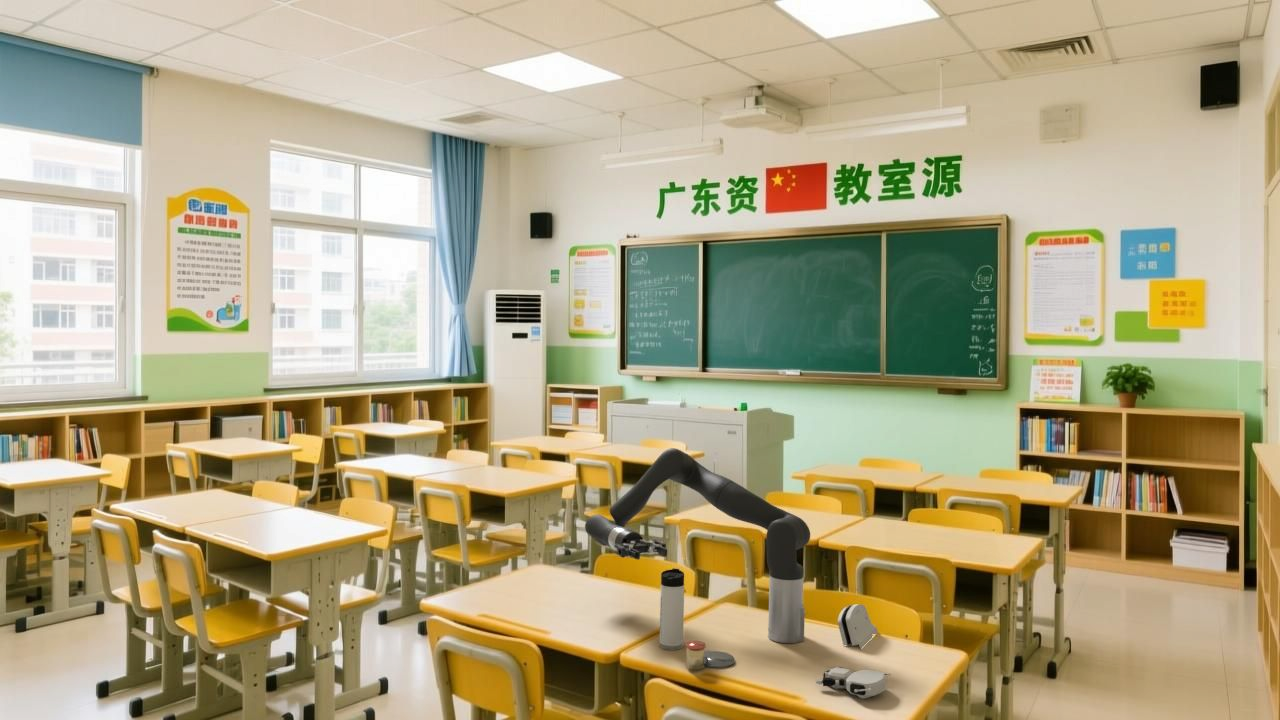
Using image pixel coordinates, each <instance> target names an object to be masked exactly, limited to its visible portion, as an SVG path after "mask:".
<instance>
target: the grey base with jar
mask: <svg viewBox="0 0 1280 720" xmlns="http://www.w3.org/2000/svg"><path fill="white" fill-rule="evenodd" d="M685 647H686V662H685V663H686V668H687V669H690V670H696V671H698V670H702V669H704V668H709V669H725V668H729V667H732V666H734V664H735V657H734V655H732V654H731V653H727V652H724V651H719V650H706V649H705V648H707V644H706V642H704V641H702V640H698V639H695V640H693V639H691V640H687V641H686V642H685Z"/></svg>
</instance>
